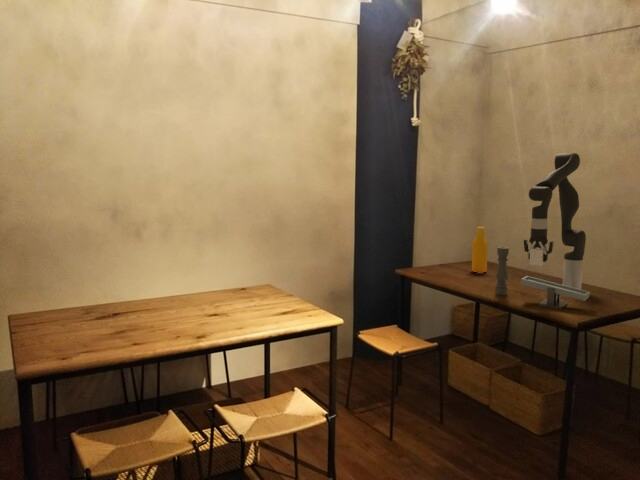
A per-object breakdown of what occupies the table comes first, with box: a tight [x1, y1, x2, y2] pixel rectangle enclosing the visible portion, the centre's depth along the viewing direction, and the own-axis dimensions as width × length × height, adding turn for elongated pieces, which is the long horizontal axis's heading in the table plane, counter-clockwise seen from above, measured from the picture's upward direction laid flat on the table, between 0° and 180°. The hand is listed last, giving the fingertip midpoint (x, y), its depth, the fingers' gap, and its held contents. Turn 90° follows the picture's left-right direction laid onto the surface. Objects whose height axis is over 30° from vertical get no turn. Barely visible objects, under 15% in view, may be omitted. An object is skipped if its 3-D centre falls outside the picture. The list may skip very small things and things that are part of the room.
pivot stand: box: [538, 288, 568, 310], centre depth 259 cm, size 12×10×9 cm
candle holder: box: [494, 246, 510, 296], centre depth 280 cm, size 6×6×25 cm
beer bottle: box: [471, 226, 488, 273], centre depth 336 cm, size 9×9×29 cm
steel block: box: [529, 248, 547, 267], centre depth 261 cm, size 6×6×8 cm
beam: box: [519, 275, 591, 302], centre depth 258 cm, size 9×30×3 cm, turn 52°
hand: (537, 260), depth 262 cm, fingers closed on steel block, 6 cm apart
